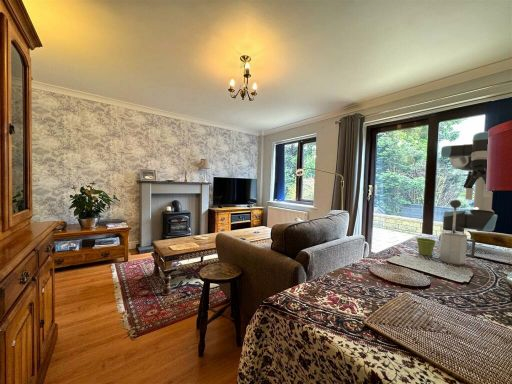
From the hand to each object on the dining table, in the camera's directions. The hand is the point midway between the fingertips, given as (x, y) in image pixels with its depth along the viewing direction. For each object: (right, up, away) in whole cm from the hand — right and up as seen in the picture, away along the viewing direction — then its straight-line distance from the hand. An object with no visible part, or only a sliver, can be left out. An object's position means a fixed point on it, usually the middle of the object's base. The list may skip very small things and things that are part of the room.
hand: (477, 198), depth 118 cm
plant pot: (-19, -34, +12) cm, 41 cm away
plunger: (-13, -22, 0) cm, 25 cm away
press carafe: (-12, -34, 0) cm, 36 cm away
